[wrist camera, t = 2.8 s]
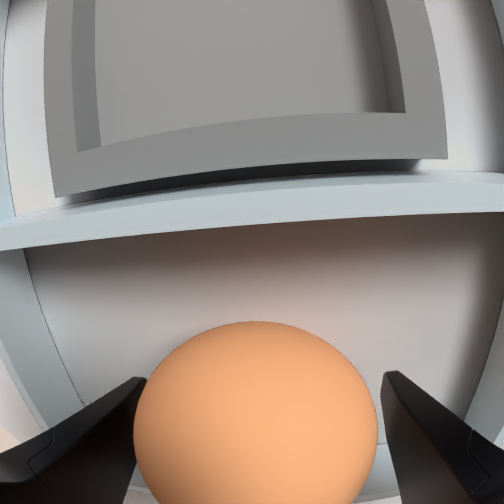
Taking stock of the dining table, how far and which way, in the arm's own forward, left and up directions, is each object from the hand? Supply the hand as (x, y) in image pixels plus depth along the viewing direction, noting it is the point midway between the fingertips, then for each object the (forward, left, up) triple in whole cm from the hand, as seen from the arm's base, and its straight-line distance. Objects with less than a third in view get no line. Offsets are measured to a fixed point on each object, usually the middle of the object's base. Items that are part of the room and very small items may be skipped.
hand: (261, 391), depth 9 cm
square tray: (+11, 0, -1) cm, 11 cm away
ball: (0, 0, -1) cm, 1 cm away
